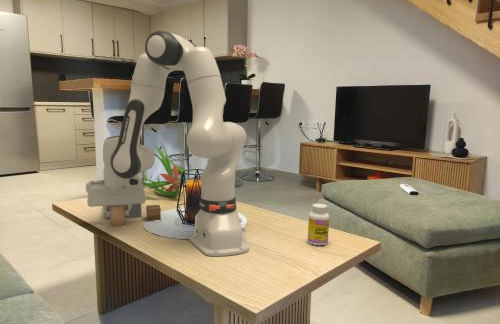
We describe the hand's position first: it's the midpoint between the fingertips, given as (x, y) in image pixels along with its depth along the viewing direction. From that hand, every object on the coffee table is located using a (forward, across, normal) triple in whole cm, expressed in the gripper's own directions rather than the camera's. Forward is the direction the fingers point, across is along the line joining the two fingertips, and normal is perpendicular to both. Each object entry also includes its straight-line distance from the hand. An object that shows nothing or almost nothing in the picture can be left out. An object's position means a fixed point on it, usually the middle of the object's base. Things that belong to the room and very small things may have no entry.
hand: (117, 216), depth 136 cm
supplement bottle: (+3, +63, -37) cm, 73 cm away
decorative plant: (+3, +23, +40) cm, 46 cm away
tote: (+3, +2, +15) cm, 15 cm away
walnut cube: (+3, +13, +3) cm, 14 cm away
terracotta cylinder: (+3, 0, 0) cm, 3 cm away
